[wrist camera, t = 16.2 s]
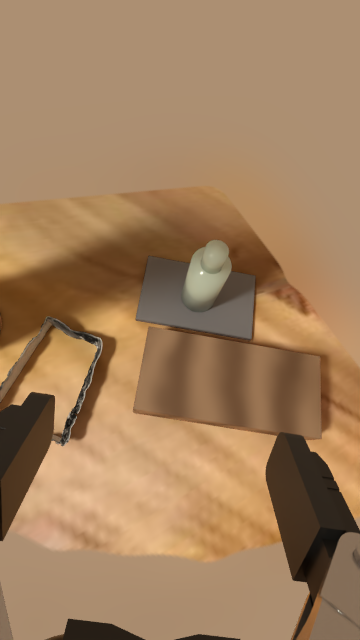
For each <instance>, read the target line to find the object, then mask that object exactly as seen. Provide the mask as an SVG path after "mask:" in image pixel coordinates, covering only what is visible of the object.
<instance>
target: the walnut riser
mask: <svg viewBox="0 0 360 640" xmlns="http://www.w3.org/2000/svg"><path fill="white" fill-rule="evenodd" d="M133 413H138V414H144V415H150V416H157V417H163V418H169V419H176V420H182V421H188V422H194V423H201V424H207V425H213V426H220V427H226V428H232V429H238V430H245V431H251V432H257V433H264V434H270V435H276V436H278V434H279V433H280V432H285V433H291V434H297V435H302V436H303V437H304V439H305V440H315V439H322V433H321V374H320V356H315V355H310V354H304V353H298V352H292V351H287V350H281V349H275V348H270V347H264V346H258V345H252V344H247V343H241V342H235V341H229V340H224V339H218V338H212V337H207V336H201V335H195V334H189V333H184V332H178V331H172V330H167V329H161V328H155V327H149V328H148V333H147V338H146V343H145V349H144V354H143V359H142V365H141V370H140V375H139V381H138V386H137V391H136V397H135V402H134V407H133Z"/></svg>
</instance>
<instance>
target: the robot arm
mask: <svg viewBox="0 0 360 640" xmlns="http://www.w3.org/2000/svg"><path fill="white" fill-rule="evenodd" d="M1 327H2V318H1V314H0V331H1ZM54 412H55V396H54V395H48V394H42V393H36V392H31V393H30V394H29V395H28V397H27V398H26V400H25V401H24V403H23V404H22V405H21V406H18V405H10V406H9V407H7V408H5V409H4V410H2V411H1V412H0V541H3V539H4V537H5V536H6V533H7V531H8V529H9V527H10V525H11V523H12V521H13V519H14V517H15V515H16V513H17V511H18V509H19V507H20V505H21V503H22V501H23V499H24V497H25V495H26V493H27V491H28V489H29V487H30V485H31V483H32V481H33V479H34V477H35V475H36V473H37V471H38V469H39V467H40V465H41V463H42V461H43V459H44V457H45V455H46V453H47V451H48V449H49V446H50V444H51V440H52V436H53V431H54ZM266 482H267V486H268V489H269V493H270V497H271V501H272V504H273V508H274V512H275V516H276V519H277V523H278V527H279V531H280V534H281V538H282V542H283V545H284V549H285V553H286V557H287V560H288V564H289V568H290V572H291V575H292V579H293V580H294V581H301V582H307V584H308V587H309V591H310V592H309V594H308V596H307V598H306V601H305V603H304V606H303V608H302V611H301V614H300V616H299V619H298V622H297V624H296V627H295V629H294V632H293V635H292V638H291V640H360V530H359V528H358V526H357V524H356V522H355V520H354V518H353V516H352V514H351V512H350V510H349V508H348V506H347V504H346V502H345V500H344V498H343V496H342V494H341V492H339V487H338V485H337V483H336V481H334V477H333V475H332V473H331V471H330V469H329V467H328V465H327V464H326V463H325V462H324V461H323V460H322V458H321V457H320V456H319V455H318V454H317V453H316V452H310V449H309V447H308V445H307V443H306V441H305V439H304V437H303V436H302V435H297V434H291V433H285V432H280V433H279V434H278V436H277V439H276V441H275V444H274V446H273V449H272V452H271V454H270V457H269V459H268V462H267V466H266ZM0 640H13V637H12V632H11V628H10V623H9V619H8V614H7V610H6V606H5V601H4V597H3V592H2V588H1V584H0ZM46 640H145V639H142V638H140V637H138V636H136V635H134V634H131V633H130V632H128V631H125V630H123V629H121V628H119V627H117V626H115V625H113V624H108V623H99V622H91V621H83V620H73V619H68V622H67V625H66V629H65V633H64V634H63V635H58V636H54V637H51V638H49V639H46ZM176 640H240V639H235V638H226V637H218V636H209V635H201V634H198V635H193V636H189V637H185V638H180V639H176Z"/></svg>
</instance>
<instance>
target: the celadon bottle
mask: <svg viewBox="0 0 360 640" xmlns="http://www.w3.org/2000/svg"><path fill="white" fill-rule="evenodd" d="M228 254H229V248H228V246H227V245H226V244H225V243H224V242H222V241H220V240H212V241H210V242H208V243H207V245H206V247H203V248H200V249H198V250H197V251H196V252H195V253H194V254H193V256H192V259H191V262H190V266H189V269H188V272H187V276H186V279H185V283H184V286H183V289H182V293H181V299H182V302H183V304H184V305H185V306H186V307H187V308H188V309H189V310H191V311H193V312H205V311H207V310H209V309H210V308H211V307H212V306H213V304H214V302H215V300H216V298H217V297H218V295H219V293H220V291H221V289H222V287H223V285H224V284H225V282H226V280H227V278H228V276H229V274H230V272H231V268H232V265H231V261H230V258H229V257H228Z"/></svg>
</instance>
